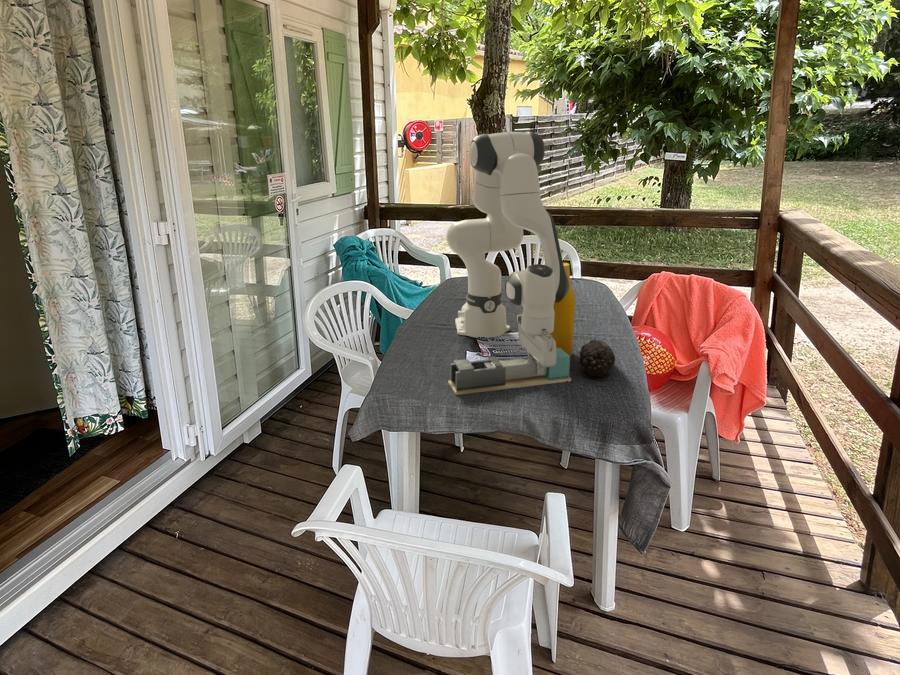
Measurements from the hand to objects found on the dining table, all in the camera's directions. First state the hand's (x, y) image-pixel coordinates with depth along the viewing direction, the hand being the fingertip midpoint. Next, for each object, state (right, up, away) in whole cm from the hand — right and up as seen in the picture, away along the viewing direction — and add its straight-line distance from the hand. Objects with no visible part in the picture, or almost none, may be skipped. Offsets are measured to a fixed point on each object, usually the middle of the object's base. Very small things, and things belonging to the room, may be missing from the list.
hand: (536, 369), depth 180 cm
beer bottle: (+9, +4, +19) cm, 21 cm away
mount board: (-8, -3, -1) cm, 8 cm away
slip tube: (-5, -1, -1) cm, 5 cm away
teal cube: (+5, -2, +2) cm, 6 cm away
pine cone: (+18, -1, +7) cm, 19 cm away
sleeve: (-17, -4, -3) cm, 18 cm away
